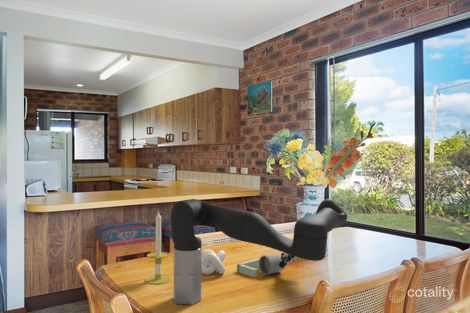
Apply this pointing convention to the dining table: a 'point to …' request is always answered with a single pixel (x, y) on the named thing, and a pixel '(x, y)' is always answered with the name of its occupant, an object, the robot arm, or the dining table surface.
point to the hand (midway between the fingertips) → (281, 266)
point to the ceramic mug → (270, 264)
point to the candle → (158, 257)
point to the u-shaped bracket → (249, 267)
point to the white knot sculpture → (212, 262)
